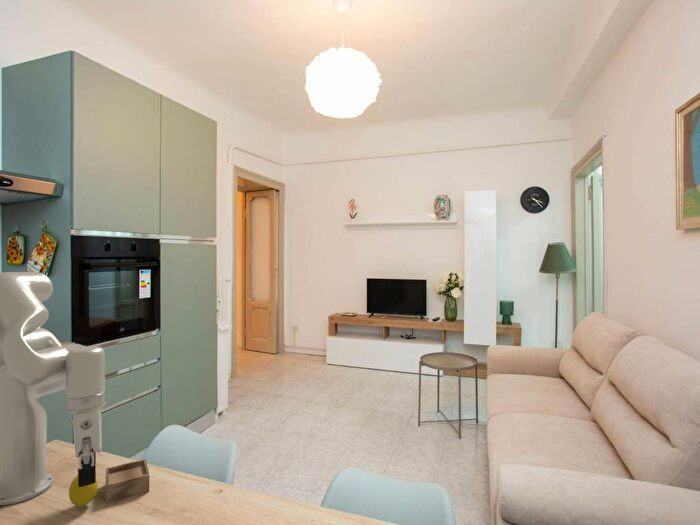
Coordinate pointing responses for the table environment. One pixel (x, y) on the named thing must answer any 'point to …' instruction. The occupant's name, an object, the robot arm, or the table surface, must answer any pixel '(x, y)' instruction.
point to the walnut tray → (126, 480)
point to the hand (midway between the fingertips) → (87, 475)
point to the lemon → (82, 493)
